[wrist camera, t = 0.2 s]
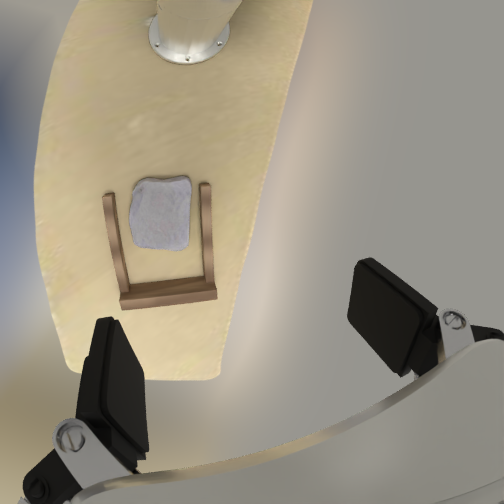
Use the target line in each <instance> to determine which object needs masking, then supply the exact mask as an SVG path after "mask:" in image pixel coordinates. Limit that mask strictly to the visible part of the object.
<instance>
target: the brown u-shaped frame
mask: <svg viewBox="0 0 504 504" xmlns="http://www.w3.org/2000/svg"><path fill="white" fill-rule="evenodd" d="M199 191H200V217H201V237H202V254H203V269H204V276H200V277H192V278H184V279H175V280H166V281H157V282H148V283H139V284H130V283H129V278H128V274H127V269H126V264H125V259H124V254H123V249H122V243H121V238H120V232H119V225H118V218H117V211H116V204H115V195H114V193H108V194H105V195H104V196H103V197H102V200H103V207H104V214H105V221H106V227H107V232H108V238H109V243H110V248H111V253H112V258H113V263H114V267H115V272H116V276H117V280H118V284H119V288H120V292H121V294H120V299H119V302H120V306H121V309H122V310H132V309H142V308H151V307H160V306H169V305H177V304H185V303H193V302H201V301H208V300H216V299H217V288H216V285H215V282H214V266H213V244H212V215H211V186H210V184H209V183H203V184H199Z"/></svg>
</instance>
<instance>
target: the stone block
mask: <svg viewBox="0 0 504 504" xmlns="http://www.w3.org/2000/svg"><path fill="white" fill-rule="evenodd" d="M191 190H192V188H191V181H190V179H189V178H188V177H185V176H178V177H174V178H169V179H166V180H161V179H157V178H145V179H143V180H140V181H139V182H138V183H137V185H136V186H135V188H134V190H133V194H132V195H133V199H132V203H131V206H130V214H129V215H130V216H129V224H130V228H131V233H132V236H133V242H134V244H135V245H137V246H138V247H141V248H150V249H165V250H171V251H181V250H183V249H184V248H186V247H187V246H188V241H189V221H190V200H191Z"/></svg>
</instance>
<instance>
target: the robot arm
mask: <svg viewBox="0 0 504 504" xmlns="http://www.w3.org/2000/svg"><path fill="white" fill-rule="evenodd" d="M242 1H243V0H157V14H156V16H155V17H154V18H153V20H152V22H151V24H150V27H149V42H150V44H151V47H152V49H153V50H154V51H155V53H156V54H157V55H158V56H160V57H161V58H163V59H164V60H166V61H169V62H172V63H175V64H181V65H190V64H197V63H200V62H203V61H206V60H208V59H210V58H212V57H213V56H215V55H216V54H217V53H218V52H219V51H220V50H221V49H222V48H223V47H224V46H225V44H226V42H227V40H228V37H229V34H230V25H229V20H230V18H231V17H232V15H233V14H234V12H235V11H236V9H237V8H238V7H239V5H240V4H241V2H242ZM217 44H220V46H218V45H217ZM157 45H158V46H159V47H156V46H157ZM186 59H189V61H186ZM437 310H438V308H437V307H436V306H435V305H434V304H432V303H431V302H430V301H429V300H427V299H426V298H425V297H424V296H422V295H421V294H420V293H419V292H417V291H416V290H415V289H413V288H412V287H411V286H409V285H408V284H407V283H405V282H404V281H403V280H402V279H400V278H399V277H398V276H396V275H395V274H394V273H392V272H391V271H390V270H388V269H387V268H386V267H384V266H383V265H381V264H380V263H379V262H377V261H376V260H375V259H373V258H366V259H362V260H359V261H358V262H357V265H356V266H355V268H354V275H353V282H352V289H351V295H350V302H349V308H348V314H347V318H348V320H349V322H350V324H351V325H352V326H353V327H354V328H355V329H356V330H357V332H358V333H359V334H360V335H361V336H362V337H363V338H364V339H365V340H366V341H367V343H368V344H369V345H370V346H371V347H372V349H373V350H374V351H375V352H376V353H377V354H378V355H379V357H380V358H381V359H382V360H383V361H384V362H385V363H386V364H387V366H388V367H389V368H390V369H391V370H392V371H393V372H394V373H397V374H398V375H399V376H400V377H403V376H404V375H406V374H408V373H409V372H410V371H411V369H412V370H413V371H414V381H413V382H412V383H410V384H409V385H407V386H406V387H404V388H402V389H401V390H399V391H397V392H396V393H394V394H392V395H391V396H389V397H387V398H385V399H384V400H382V401H380V402H379V403H376V404H374V405H373V406H371V407H369V408H367V409H365V410H363V411H361V412H359V413H357V414H355V415H353V416H351V417H349V418H347V419H345V420H343V421H341V422H339V423H336V424H334V425H332V426H330V427H327V428H325V429H323V430H320V431H318V432H315V433H313V434H310V435H307V436H305V437H302V438H300V439H297V440H294V441H291V442H288V443H285V444H282V445H280V446H277V447H274V448H270V449H267V450H264V451H260V452H257V453H253V454H249V455H246V456H242V457H238V458H234V459H229V460H225V461H220V462H216V463H210V464H206V465H200V466H194V467H188V468H182V469H175V470H167V471H159V472H151V473H143V474H142V473H141V472H140V471H139V470H137V469H136V467H137V460H146V455H145V452H149V442H148V432H147V420H146V405H145V384H144V383H145V382H144V372H143V369H142V367H141V365H140V363H139V361H138V359H137V357H136V355H135V353H134V351H133V349H132V347H131V345H130V343H129V341H128V339H127V337H126V335H125V333H124V331H123V328H122V326H121V324H120V322H119V320H114V318H113V317H105V318H99V319H97V321H96V325H95V329H94V333H93V337H92V342H91V346H90V351H89V356H87V357H86V358H85V360H84V365H83V370H82V375H81V381H80V388H79V394H78V401H77V409H76V418H69V419H65V420H63V421H62V422H60V423H59V424H58V425H57V426H56V428H55V430H54V432H53V437H52V440H53V445H54V449H53V450H52V451H51V452H50V453H49V454H48V455H47V456H46V457H45V458H44V459H42V460H41V461H40V462H39V463H38V464H37V465H36V466H35V467H34V468H33V469H32V470H31V471H29V472H28V473H27V475H26V476H25V478H24V480H23V491H24V494H25V498H22V497H21V498H20V500H19V502H18V504H504V333H503V332H502V331H500V330H498V329H494V328H488V327H481V326H474V325H470V323H469V321H468V319H467V317H466V316H465V315H464V314H463V313H462V312H460V311H458V310H455V309H444V310H442V311H441V312H440V314H439V316H437V315H436V312H437Z"/></svg>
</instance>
